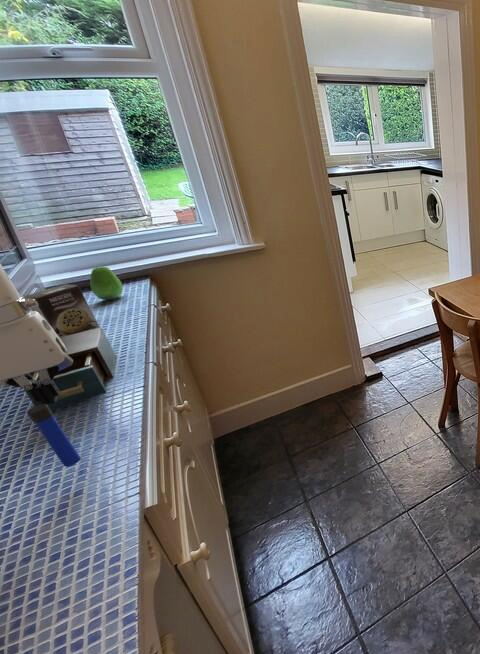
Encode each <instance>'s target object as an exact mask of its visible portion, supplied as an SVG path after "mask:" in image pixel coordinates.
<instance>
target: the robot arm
mask: <svg viewBox="0 0 480 654" xmlns="http://www.w3.org/2000/svg"><path fill="white" fill-rule="evenodd" d="M37 306H38V303H37V301H36V300H35V299H34V300H25V298H24V297H23V296H21V294H20V293H19V291H18V290H17V288H16V286H15V285H14V283H13V282H12V280H11V278H10V277H9V275H8V273H7V272H6V271H5V269H4V267H3V265H2V264H1V263H0V387H6V386H12V387H15V388H22V389H23V390H24V391H25V390H29V392H30V393H31V395H32V396H33V398H34V399H35V401H36V402H39V401H40V402H41V403H42V404H47V405H48V404H49V403H52V404H53V403H56V401H57V398H58V396H59V395H60V391H59V389H58V388H57V386H56V384H55V383H54V381H53V380H52V379H53V378H54V376H55V375H56V374H57V372H58V371H60V370H62V369H64V368H66V367H68V366H70V365H72V364H73V359H72V358H70V357H69V356H68V355H67V354H66V353H67V349H66V347H65V345H64V344H63V342H62V341H61V339H60V338H59V337H58V335H57V334H56V332H55V331H54V330H53V328H52V327H51V326H50V325H49V324H48V322H47V321H46V320H45V319H44V318H43V317H42V316H41V315H40V314H39V313H38V312H37V311H32V310H31V309H32V308H33V307H37ZM35 371H37V372H38V375H39V378H40V380H41V381H37V380H35V379H34V378H33V377H32V376H31V375H30V373H31V372H35Z"/></svg>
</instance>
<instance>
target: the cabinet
mask: <svg viewBox="0 0 480 654" xmlns="http://www.w3.org/2000/svg"><path fill="white" fill-rule="evenodd" d="M60 339H61V341H62V342H63V344H64V345H65V347H66V349H67V353H66V354H67V355H68V356H69V357H74V356H78V355H81V354H85V353H89V352H92V351H94V352H95V354H96V355H97V357H98V359H99V361H100V363H101V364H102V366H103V368H104V370H105V374H104V380H105V381H107V380H106V379H108V380H110V379H109V378H111V379H114V378H115V372H114V371H115V370H116V362H117V361H116V360H117V354H116V352H115V351H114V348H113V346H112V345H111V343H110V341H109V339H108V337H107V335H106V333H105V332H104V330H103V328H102V327H101V326H100V328H96V329H92V330H88V331H84V332H80V333H76V334H72V335H68V336H64V337H60ZM29 374H30V375H31V376H32V377H33V375H34V372H31V373H29ZM113 377H114V378H113Z"/></svg>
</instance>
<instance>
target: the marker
mask: <svg viewBox="0 0 480 654" xmlns="http://www.w3.org/2000/svg"><path fill="white" fill-rule="evenodd" d="M26 414H27V416H28V417H29V419H30V420H31V422H32V423H34V424H35V426H36V428H37V429H38V430H39V432H40V433H41V434H42V436H43V437H44V439H45V440H46V442H47V443H48V445H49V446H50V448H51V449H52V450H53V452H54V454H55V455H56V456H57V458H58V459H59V461H60V462H61V463H62V465H63V466H64V467H66V468H67V467H71V466H73V465H75V464H77V463H79V462H80V461H81V459H82V457H81V456H80V454H79V453H78V452H77V450H76V449H75V447H74V445H73V444H72V442H71V441H70V439H69V437H68V436H67V435H66V433H65V432H64V430H63V428H62V427H61V425H60V423H59V422H58V421H57V419H56V417H55V416H54V413H53V410H50V408H49V407H48V405H47V404H41V405H38V406H35V405H34V406H33V407H31V408H29V409H28V410H26Z"/></svg>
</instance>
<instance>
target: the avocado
mask: <svg viewBox="0 0 480 654" xmlns="http://www.w3.org/2000/svg"><path fill="white" fill-rule="evenodd" d="M89 287H90V290H91V291H92V293H93V295H94V296H95V297H97V298H98V299H100V300H103V301H111V300H112V301H113V300H115V299H118V298H119V297H120V296H121V295H122V293H123V283H122V281H121V280H120V279H119V277H118V276H117V275H116V274H115V273H114V272H113V271H112V270H111V268H109V267H107V266H96V267H94V268H93V269H92V270H91V273H90V280H89Z"/></svg>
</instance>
